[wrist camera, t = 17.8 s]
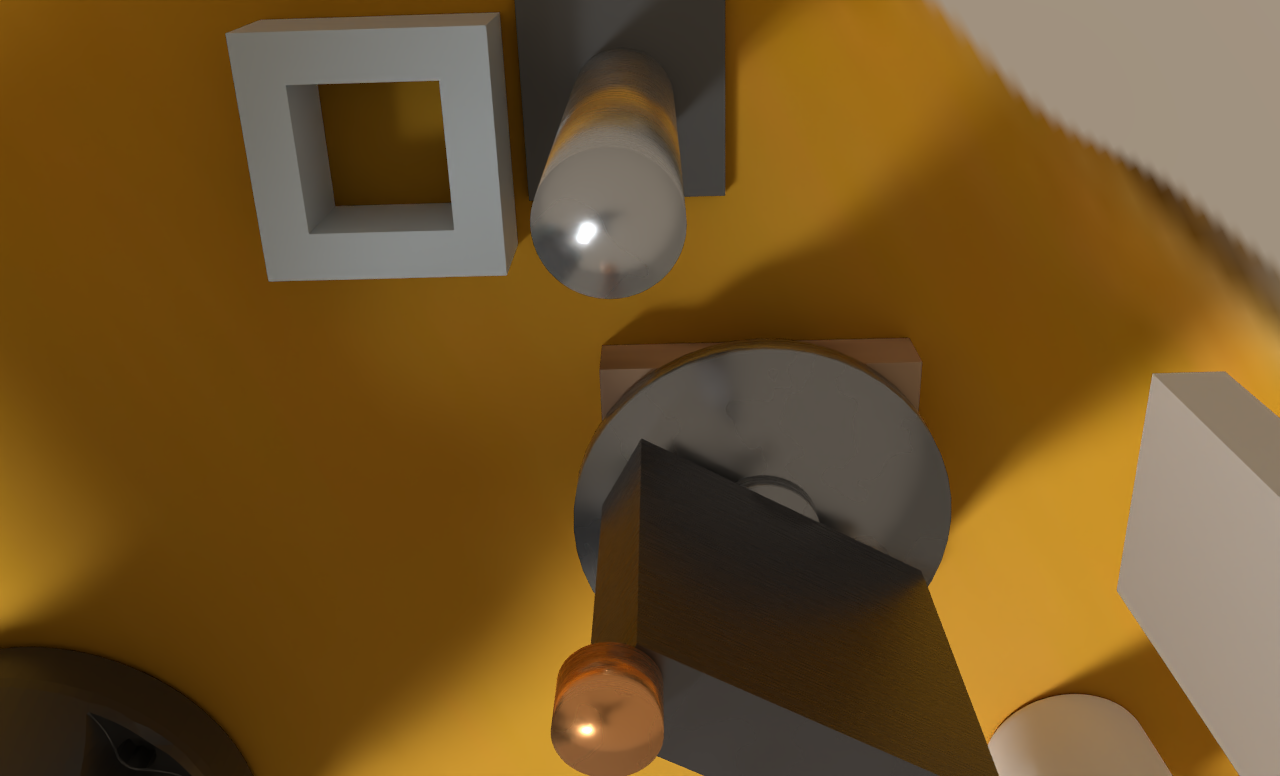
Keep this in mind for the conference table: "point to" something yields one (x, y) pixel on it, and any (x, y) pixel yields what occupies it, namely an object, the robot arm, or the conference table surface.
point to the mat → (640, 19)
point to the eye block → (298, 159)
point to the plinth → (638, 361)
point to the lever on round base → (765, 577)
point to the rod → (613, 180)
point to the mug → (1074, 740)
